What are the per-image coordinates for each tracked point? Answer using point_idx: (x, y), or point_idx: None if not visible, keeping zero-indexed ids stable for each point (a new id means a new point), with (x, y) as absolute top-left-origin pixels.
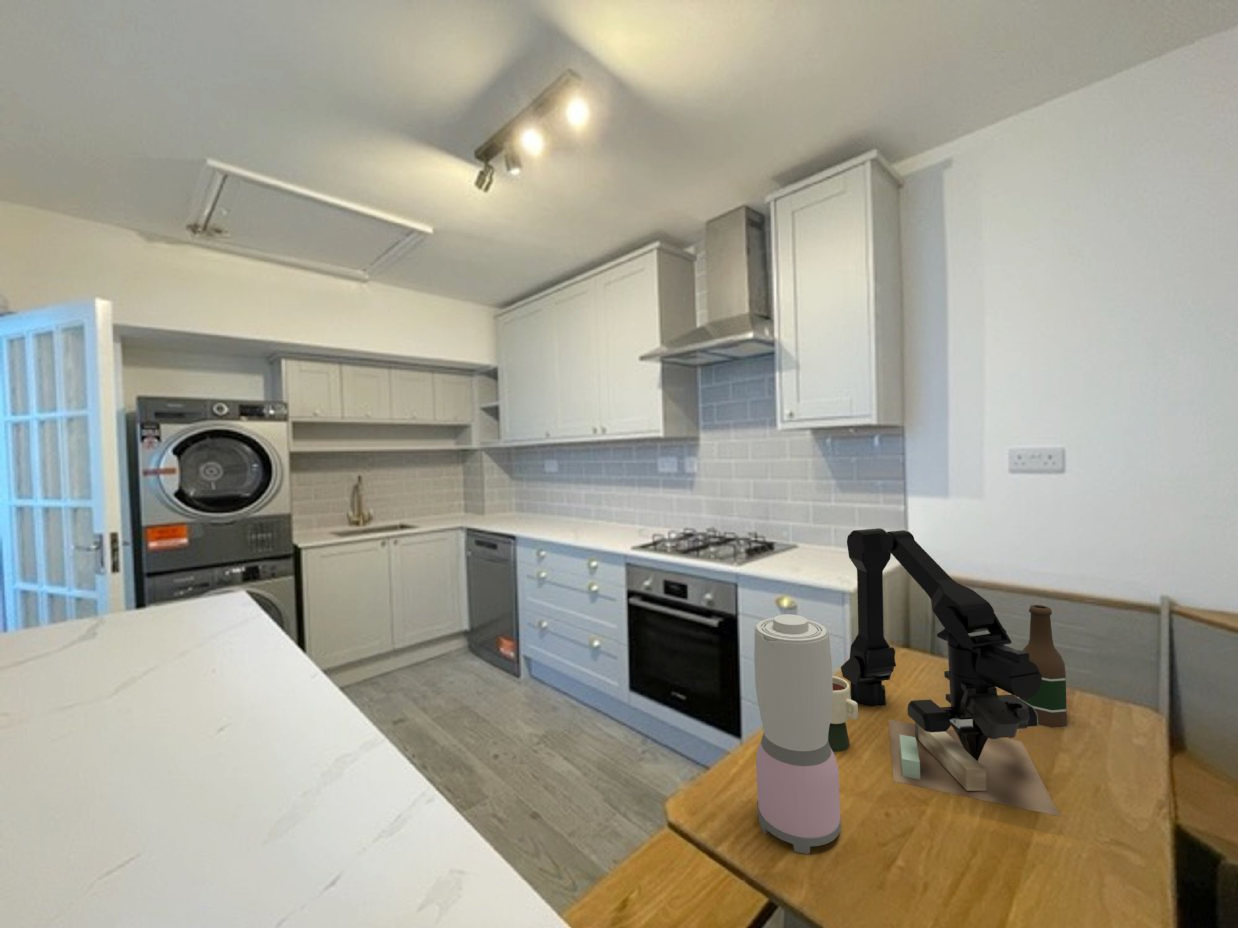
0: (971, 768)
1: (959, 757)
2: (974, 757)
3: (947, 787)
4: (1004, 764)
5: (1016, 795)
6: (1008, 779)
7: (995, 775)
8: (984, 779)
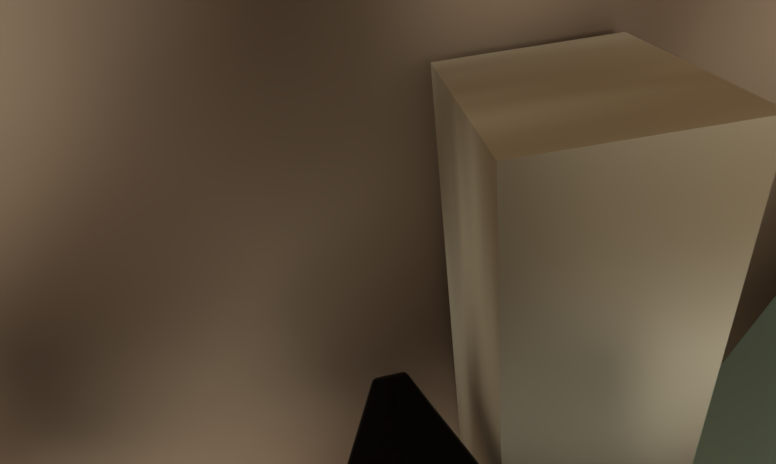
0: (699, 142)
1: (661, 352)
2: (410, 412)
3: (743, 81)
4: (106, 434)
5: (143, 34)
6: (137, 272)
7: (229, 304)
8: (473, 99)
